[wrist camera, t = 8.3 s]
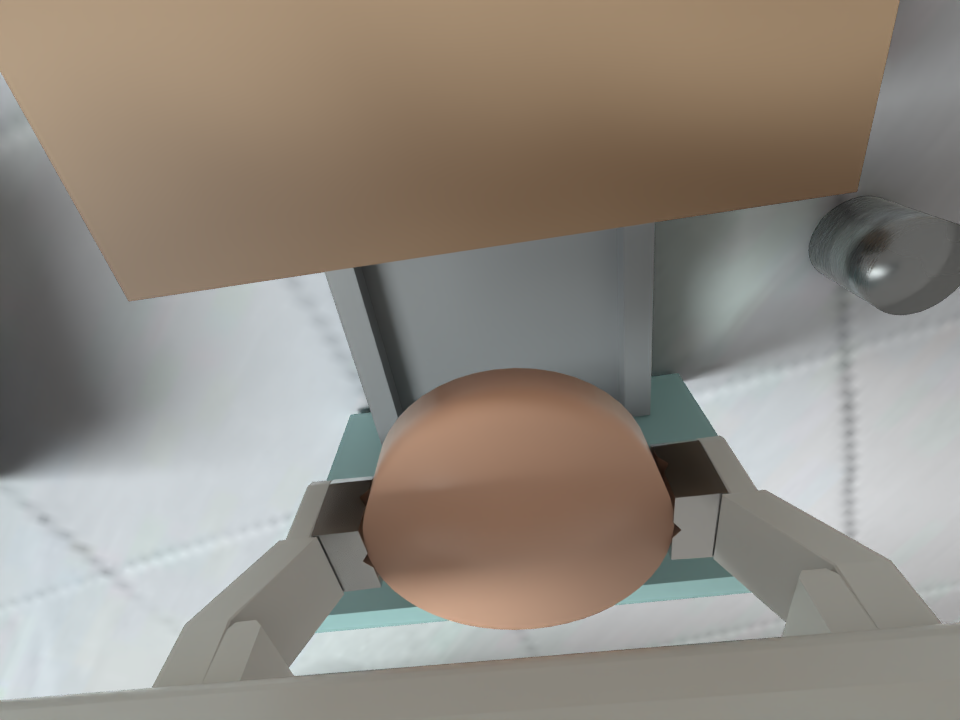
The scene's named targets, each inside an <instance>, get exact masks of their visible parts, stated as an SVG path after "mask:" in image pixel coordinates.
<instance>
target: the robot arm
mask: <svg viewBox="0 0 960 720" xmlns="http://www.w3.org/2000/svg"><path fill="white" fill-rule="evenodd" d="M649 449H650V451H651V453H652V456H653V458H654V460H655V463H656V465H657V467H658V470H659V472H660V474H661V477H662V479H663V482H664V484H665V486H666V489H667V491H668V493H669V496H670V498H671V502H672V507H673V522H674V530H673V536H672V539H671V544H670V546H669V549H668V553H669V555H670V558H671V560H677V559H692V558H706V557H714V560H715V561H716V562H717V563H719V564H720V565H721V566H722V567H723V568H724V569H725V570H727V571H728V572H729V573H730V574H731V575H732V576H733V577H735V578H736V579H737V580H738V581H739V582H740V583H741V584H743V585H744V586H745V587H746V588H747V589H748V590H749V591H751V592H752V593H753V594H754V595H755V596H756V597H757V598H759V599H760V600H761V601H762V602H763V603H764V604H765V605H767V606H768V607H769V608H770V609H771V610H772V611H773V612H775V613H776V614H777V615H778V616H779V617H780V618H781V619H783V620H784V621H785V622H786V624H785V628H784V631H783V635H782V637H774V638H762V639H749V640H737V641H725V642H712V643H700V644H688V645H675V646H663V647H651V648H638V649H626V650H614V651H601V652H589V653H577V654H565V655H553V656H541V657H528V658H516V659H504V660H492V661H479V662H467V663H454V664H442V665H429V666H417V667H404V668H391V669H379V670H366V671H354V672H341V673H329V674H316V675H304V676H294V675H293V674H292V672H291V671H290V669H289V667H290V665H291V664H292V663H293V661H294V660H295V659H296V657H297V656H298V655H299V653H300V652H301V651H302V649H303V648H304V647H305V645H306V644H307V643H308V641H309V640H310V639H311V637H312V636H313V635H314V634H315V632H316V631H317V630H318V628H319V627H320V626H321V624H322V623H323V622H324V620H325V619H326V618H327V616H328V615H329V614H330V612H331V611H332V610H333V608H334V607H335V606H336V604H337V603H338V602H339V600H340V599H341V598H342V596H343V595H344V593H343V592H348V591H356V590H364V589H372V588H380V587H382V582H383V579H382V578H381V576H380V575H379V574H378V572H377V571H376V569H375V567H374V565H373V564H372V562H371V560H370V559H369V557H368V554H367V553H368V550H367V548H366V545H365V543H364V536H363V521H364V514H365V510H366V506H367V502H368V498H369V494H370V490H371V486H372V482H373V478H374V476H369V477H358V478H347V479H335V480H330V481H318V482H312V483H311V484H310V485H309V486H308V487H307V489H306V492H305V494H304V496H303V499H302V501H301V504H300V506H299V509H298V511H297V514H296V516H295V518H294V521H293V523H292V526H291V528H290V531H289V533H288V536H287V538H286V540H281V541H278V542H277V543H276V544H275V545H274V546H273V547H272V548H271V549H269V550H268V551H267V552H266V553H265V554H264V555H263V556H262V557H260V558H259V559H258V560H257V561H256V562H255V563H254V564H253V565H251V566H250V567H249V568H248V569H247V570H246V571H245V572H244V573H242V574H241V575H240V576H239V577H238V578H237V579H236V580H235V581H233V582H232V583H231V584H230V585H229V586H228V587H227V588H226V589H224V590H223V591H222V592H221V593H220V594H219V595H218V596H217V597H215V598H214V599H213V600H212V601H211V602H210V603H209V604H208V605H206V606H205V607H204V608H203V609H202V610H201V611H200V612H199V613H197V614H196V615H195V616H194V617H193V618H192V619H191V620H190V621H188V622H187V623H186V624H185V626H184V627H183V629H182V631H181V633H180V635H179V637H178V639H177V641H176V643H175V645H174V646H173V648H172V650H171V652H170V654H169V656H168V658H167V660H166V662H165V664H164V666H163V667H162V669H161V671H160V673H159V675H158V677H157V679H156V681H155V683H154V685H153V686H152V688H144V689H132V690H119V691H107V692H95V693H82V694H70V695H58V696H45V697H33V698H20V699H8V700H0V720H960V622H959V623H947V624H942V623H941V622H940V621H939V619H938V618H937V617H936V616H935V614H934V613H933V612H932V611H931V609H930V608H929V607H928V606H927V605H926V603H925V602H924V601H923V600H922V598H921V597H920V596H919V595H918V593H917V592H916V591H915V590H914V588H913V587H912V586H911V585H910V584H909V582H908V581H907V580H906V579H905V577H904V576H903V575H902V574H901V572H900V571H899V570H898V569H897V567H896V566H895V565H894V564H893V563H892V561H891V560H889V559H887V558H885V557H884V556H882V555H880V554H878V553H876V552H875V551H873V550H871V549H869V548H868V547H866V546H864V545H862V544H860V543H859V542H857V541H855V540H853V539H852V538H850V537H848V536H846V535H845V534H843V533H841V532H839V531H837V530H836V529H834V528H832V527H830V526H829V525H827V524H825V523H823V522H821V521H820V520H818V519H816V518H814V517H813V516H811V515H809V514H807V513H806V512H804V511H802V510H800V509H798V508H797V507H795V506H793V505H791V504H790V503H788V502H786V501H784V500H783V499H781V498H779V497H777V496H775V495H774V494H772V493H770V492H768V491H767V490H759V491H758V490H757V488H756V487H755V485H754V484H753V482H752V480H751V479H750V477H749V476H748V474H747V473H746V471H745V470H744V468H743V467H742V465H741V463H740V462H739V460H738V459H737V457H736V456H735V454H734V453H733V451H732V449H731V448H730V446H729V445H728V443H727V442H726V440H725V439H724V438H723V437H721V436H713V437H705V438H697V439H696V440H695V439H691V440H683V441H675V442H667V443H659V444H650V445H649Z"/></svg>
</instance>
